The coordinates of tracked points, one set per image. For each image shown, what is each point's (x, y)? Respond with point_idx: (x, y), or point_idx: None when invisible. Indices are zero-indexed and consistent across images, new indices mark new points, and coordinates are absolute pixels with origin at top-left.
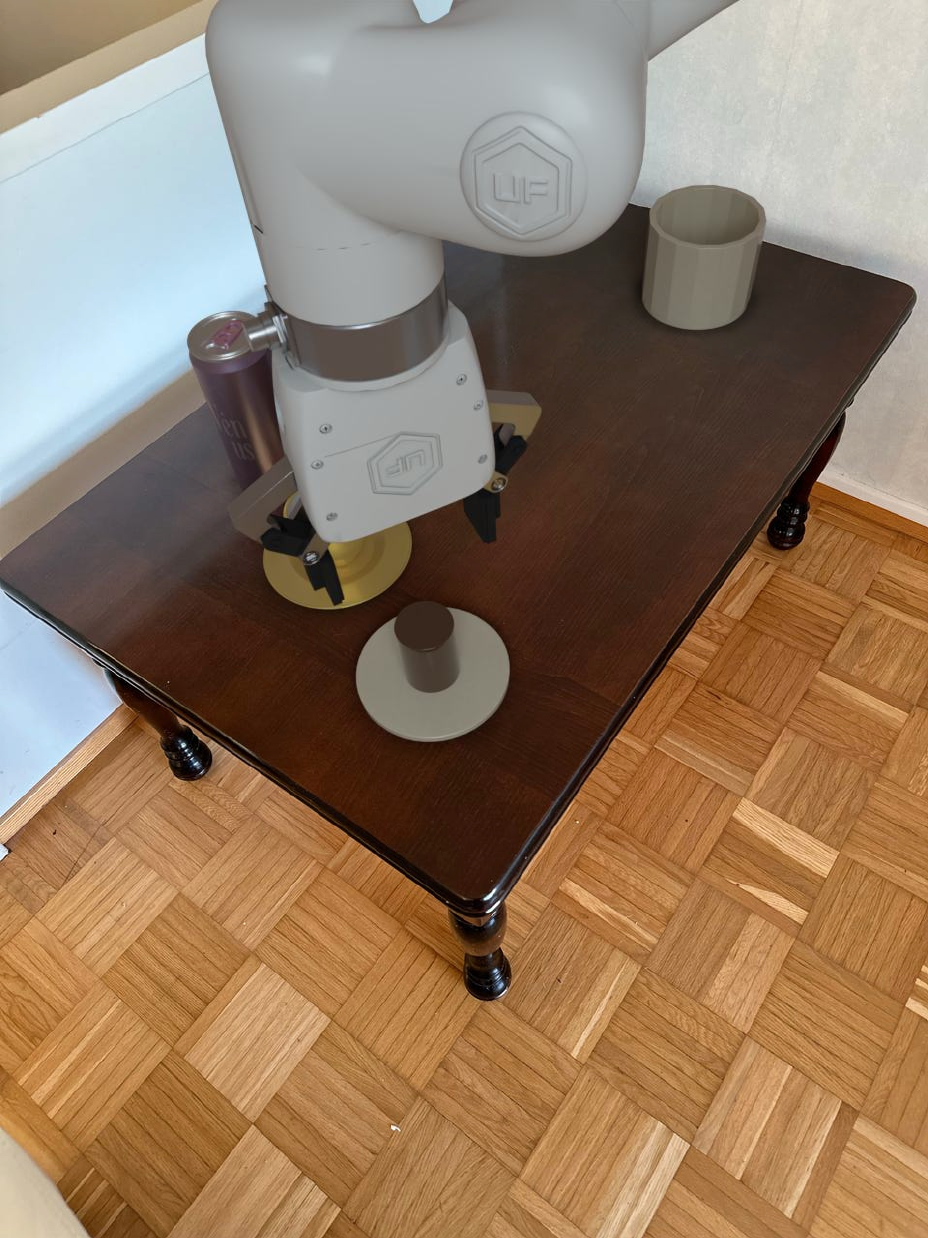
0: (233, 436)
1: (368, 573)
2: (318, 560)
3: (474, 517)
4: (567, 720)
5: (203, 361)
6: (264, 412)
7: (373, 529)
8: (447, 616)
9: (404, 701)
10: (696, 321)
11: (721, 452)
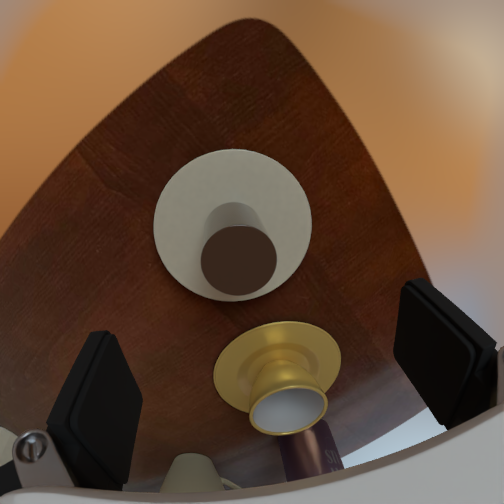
0: (339, 468)
1: (261, 348)
2: (500, 353)
3: (120, 387)
4: (120, 141)
5: None
6: None
7: (487, 439)
8: (207, 264)
9: (271, 203)
10: (5, 434)
11: None
